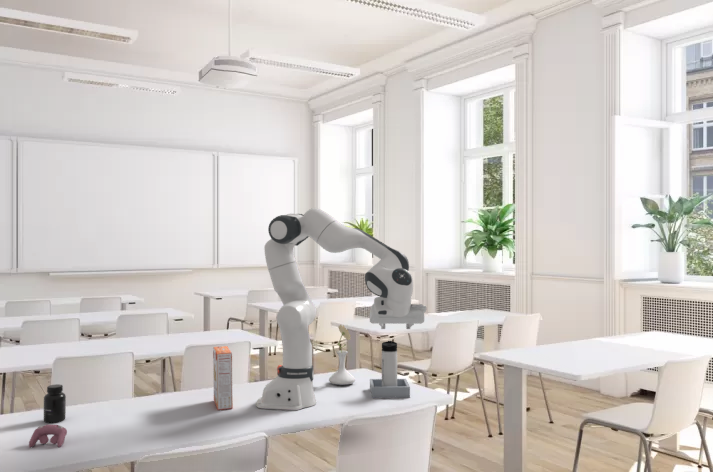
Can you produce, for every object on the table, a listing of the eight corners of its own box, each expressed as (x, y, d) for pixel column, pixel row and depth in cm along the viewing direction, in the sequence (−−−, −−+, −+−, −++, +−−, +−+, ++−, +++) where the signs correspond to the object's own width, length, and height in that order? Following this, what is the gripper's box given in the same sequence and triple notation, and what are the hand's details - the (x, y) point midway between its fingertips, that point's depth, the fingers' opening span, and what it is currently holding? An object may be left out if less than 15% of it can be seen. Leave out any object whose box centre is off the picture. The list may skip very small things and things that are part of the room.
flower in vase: (357, 386, 260) (357, 327, 260) (330, 387, 259) (330, 327, 259) (353, 379, 273) (352, 322, 273) (327, 380, 272) (327, 323, 272)
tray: (371, 397, 242) (371, 387, 242) (369, 388, 256) (369, 379, 256) (409, 397, 243) (409, 387, 243) (405, 388, 257) (405, 378, 257)
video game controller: (66, 448, 190) (70, 425, 193) (60, 446, 186) (64, 422, 189) (33, 449, 189) (37, 425, 192) (26, 447, 185) (31, 423, 188)
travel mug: (397, 389, 252) (397, 340, 252) (396, 394, 246) (396, 343, 246) (382, 389, 253) (382, 340, 253) (381, 393, 246) (381, 343, 246)
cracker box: (212, 400, 238) (212, 346, 238) (228, 399, 240) (228, 345, 240) (216, 410, 225) (216, 353, 225) (232, 409, 227) (232, 352, 227)
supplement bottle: (41, 424, 209) (41, 388, 209) (45, 418, 215) (45, 384, 215) (63, 422, 211) (63, 387, 211) (67, 417, 217) (67, 382, 217)
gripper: (426, 297, 226) (422, 320, 236) (370, 297, 225) (368, 320, 235) (428, 311, 222) (423, 334, 232) (370, 311, 221) (369, 334, 231)
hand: (395, 327), depth 233 cm, fingers open, 8 cm apart
